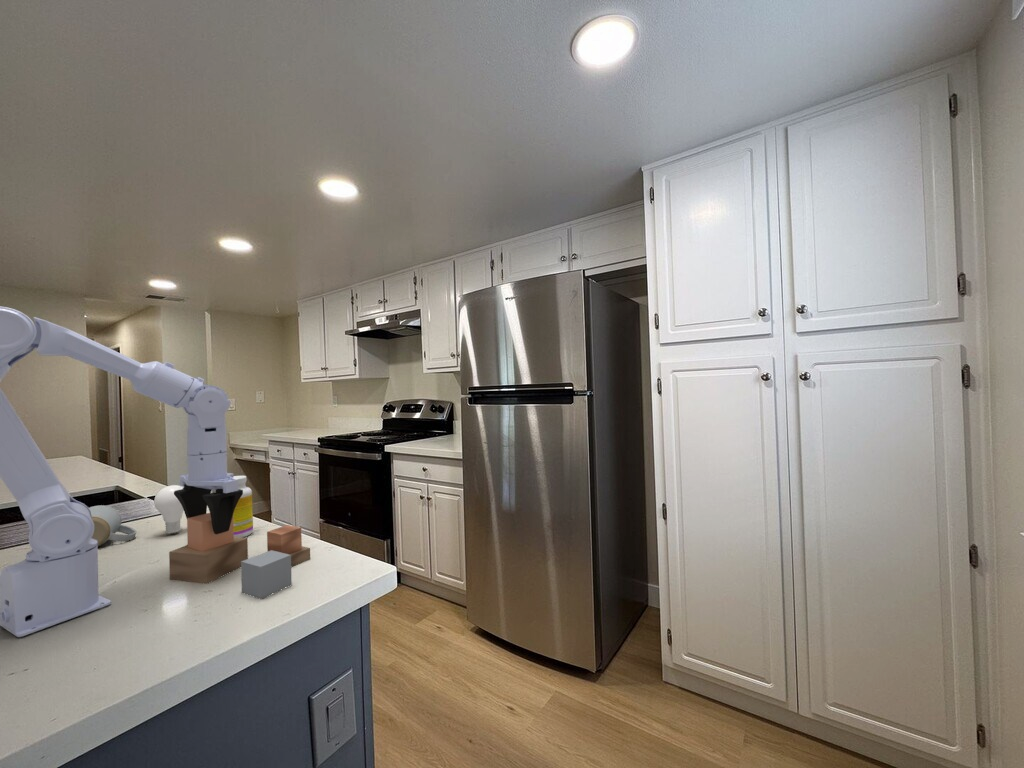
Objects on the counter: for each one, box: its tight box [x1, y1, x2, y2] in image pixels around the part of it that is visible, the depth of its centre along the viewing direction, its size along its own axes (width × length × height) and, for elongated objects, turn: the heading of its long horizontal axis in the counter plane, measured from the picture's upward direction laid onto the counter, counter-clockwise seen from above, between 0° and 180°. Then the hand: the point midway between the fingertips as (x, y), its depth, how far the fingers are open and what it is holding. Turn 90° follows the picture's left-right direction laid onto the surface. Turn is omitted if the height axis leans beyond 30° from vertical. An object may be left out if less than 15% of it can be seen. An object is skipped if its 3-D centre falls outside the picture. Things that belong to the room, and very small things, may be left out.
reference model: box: [261, 524, 311, 567], centre depth 78 cm, size 6×6×6 cm
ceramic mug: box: [88, 504, 137, 547], centre depth 90 cm, size 11×8×8 cm
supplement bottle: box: [233, 475, 254, 538], centre depth 93 cm, size 7×7×13 cm
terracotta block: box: [186, 512, 234, 552], centre depth 75 cm, size 5×5×5 cm
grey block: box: [240, 550, 293, 600], centre depth 68 cm, size 5×5×5 cm
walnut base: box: [168, 537, 249, 585], centre depth 75 cm, size 8×8×5 cm
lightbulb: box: [153, 484, 184, 535], centre depth 95 cm, size 6×6×11 cm
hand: (209, 529), depth 75 cm, fingers open, 7 cm apart
